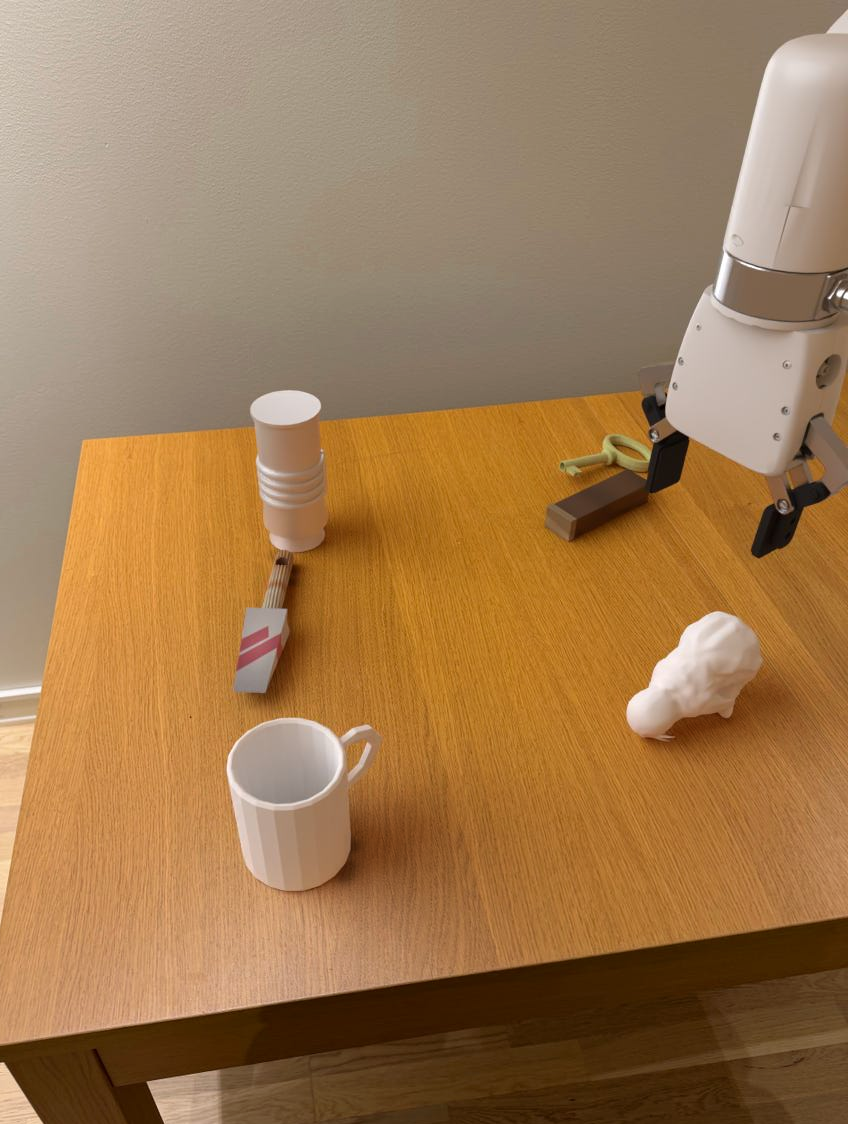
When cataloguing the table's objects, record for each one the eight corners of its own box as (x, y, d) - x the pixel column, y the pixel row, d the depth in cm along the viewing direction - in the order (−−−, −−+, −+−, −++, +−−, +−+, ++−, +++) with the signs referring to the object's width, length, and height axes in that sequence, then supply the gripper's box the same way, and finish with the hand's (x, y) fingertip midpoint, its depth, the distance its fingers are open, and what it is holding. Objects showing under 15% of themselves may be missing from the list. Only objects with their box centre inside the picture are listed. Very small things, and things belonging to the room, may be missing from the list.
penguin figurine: (780, 630, 72) (673, 706, 68) (758, 700, 78) (658, 774, 74) (715, 589, 76) (610, 658, 72) (699, 659, 82) (601, 726, 78)
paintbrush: (224, 678, 77) (266, 544, 93) (228, 702, 79) (268, 566, 94) (269, 680, 77) (304, 546, 92) (272, 704, 79) (306, 568, 94)
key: (553, 478, 104) (555, 462, 103) (615, 438, 111) (618, 422, 109) (606, 503, 101) (609, 486, 99) (667, 460, 107) (671, 443, 105)
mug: (413, 827, 70) (416, 741, 63) (280, 912, 65) (267, 829, 58) (351, 761, 75) (347, 675, 68) (223, 836, 69) (205, 751, 63)
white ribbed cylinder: (340, 543, 96) (334, 414, 86) (279, 562, 94) (265, 432, 84) (314, 510, 101) (305, 383, 91) (255, 527, 99) (239, 400, 89)
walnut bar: (623, 487, 103) (627, 467, 101) (648, 502, 101) (652, 481, 99) (544, 525, 98) (546, 505, 96) (568, 542, 96) (571, 521, 94)
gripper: (953, 314, 51) (849, 557, 63) (708, 228, 62) (658, 450, 74) (872, 349, 48) (778, 598, 60) (629, 253, 59) (590, 480, 71)
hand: (712, 516), depth 67 cm, fingers open, 9 cm apart
